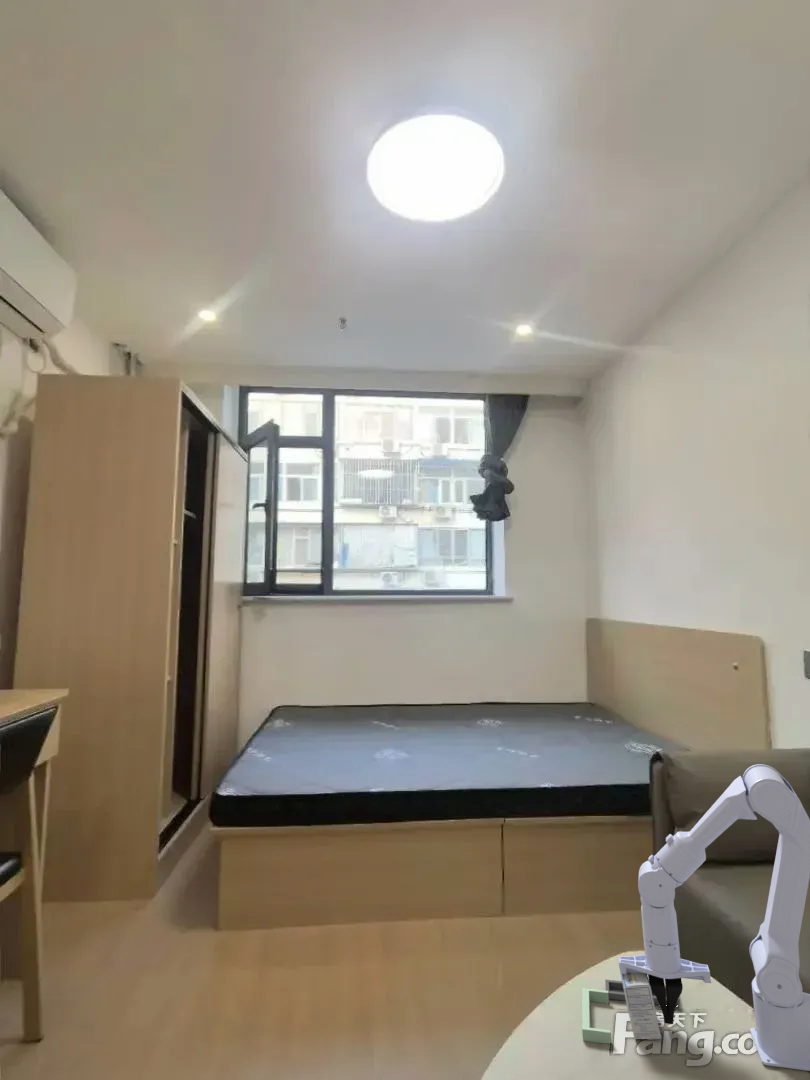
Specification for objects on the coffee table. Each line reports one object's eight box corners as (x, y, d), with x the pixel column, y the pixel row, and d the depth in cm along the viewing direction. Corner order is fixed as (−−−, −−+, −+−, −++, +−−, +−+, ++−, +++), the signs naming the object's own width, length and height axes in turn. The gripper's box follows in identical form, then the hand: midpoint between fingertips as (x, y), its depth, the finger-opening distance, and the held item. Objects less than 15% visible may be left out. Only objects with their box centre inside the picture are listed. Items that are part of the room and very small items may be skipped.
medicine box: (661, 1040, 103) (651, 985, 104) (634, 1041, 104) (623, 986, 105) (652, 1009, 111) (642, 958, 112) (627, 1010, 111) (617, 959, 112)
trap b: (633, 989, 117) (632, 982, 117) (635, 1002, 113) (634, 995, 113) (605, 986, 118) (605, 979, 118) (606, 999, 114) (605, 992, 115)
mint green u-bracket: (608, 1001, 114) (608, 990, 114) (611, 1044, 103) (610, 1032, 103) (583, 998, 115) (582, 987, 115) (583, 1040, 104) (582, 1029, 105)
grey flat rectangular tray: (675, 993, 115) (675, 986, 115) (679, 1007, 111) (678, 1000, 111) (647, 990, 116) (646, 983, 116) (649, 1004, 112) (648, 997, 113)
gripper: (701, 928, 109) (709, 1009, 108) (615, 921, 113) (622, 999, 112) (709, 951, 102) (718, 1038, 101) (617, 942, 106) (624, 1026, 105)
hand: (668, 1020), depth 106 cm, fingers closed
